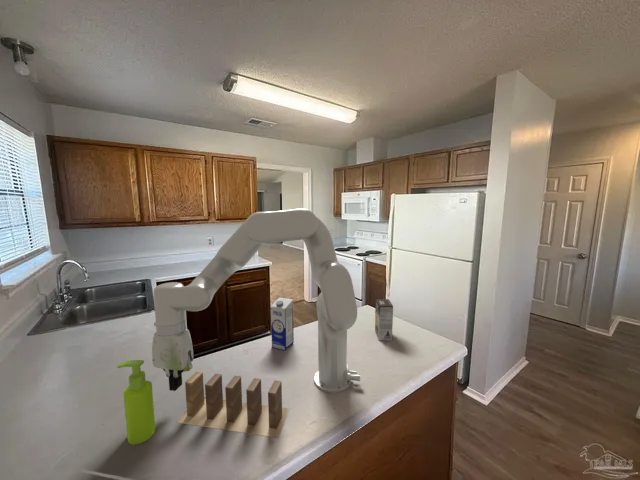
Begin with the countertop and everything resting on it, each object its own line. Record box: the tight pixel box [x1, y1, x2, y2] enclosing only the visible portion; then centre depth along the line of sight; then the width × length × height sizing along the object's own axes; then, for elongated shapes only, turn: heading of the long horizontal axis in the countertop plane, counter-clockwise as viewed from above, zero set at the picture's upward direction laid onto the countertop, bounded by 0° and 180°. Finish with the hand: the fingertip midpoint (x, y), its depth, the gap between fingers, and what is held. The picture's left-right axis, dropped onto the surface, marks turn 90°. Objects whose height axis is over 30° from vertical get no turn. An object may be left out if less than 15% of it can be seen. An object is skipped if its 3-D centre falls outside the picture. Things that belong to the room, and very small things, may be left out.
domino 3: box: [224, 375, 243, 423], centre depth 73 cm, size 2×5×10 cm, turn 170°
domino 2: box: [204, 373, 224, 420], centre depth 74 cm, size 2×5×10 cm, turn 170°
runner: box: [176, 396, 291, 439], centre depth 73 cm, size 29×10×1 cm, turn 80°
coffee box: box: [374, 298, 394, 341], centre depth 120 cm, size 9×6×16 cm
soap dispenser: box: [116, 359, 156, 445], centre depth 66 cm, size 6×7×20 cm
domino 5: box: [267, 380, 283, 429], centre depth 71 cm, size 2×5×10 cm, turn 170°
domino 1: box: [184, 371, 205, 417], centre depth 75 cm, size 2×5×10 cm, turn 170°
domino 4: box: [245, 377, 263, 426], centre depth 72 cm, size 2×5×10 cm, turn 170°
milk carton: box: [270, 296, 295, 352], centre depth 111 cm, size 7×7×20 cm
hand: (176, 387), depth 76 cm, fingers closed
